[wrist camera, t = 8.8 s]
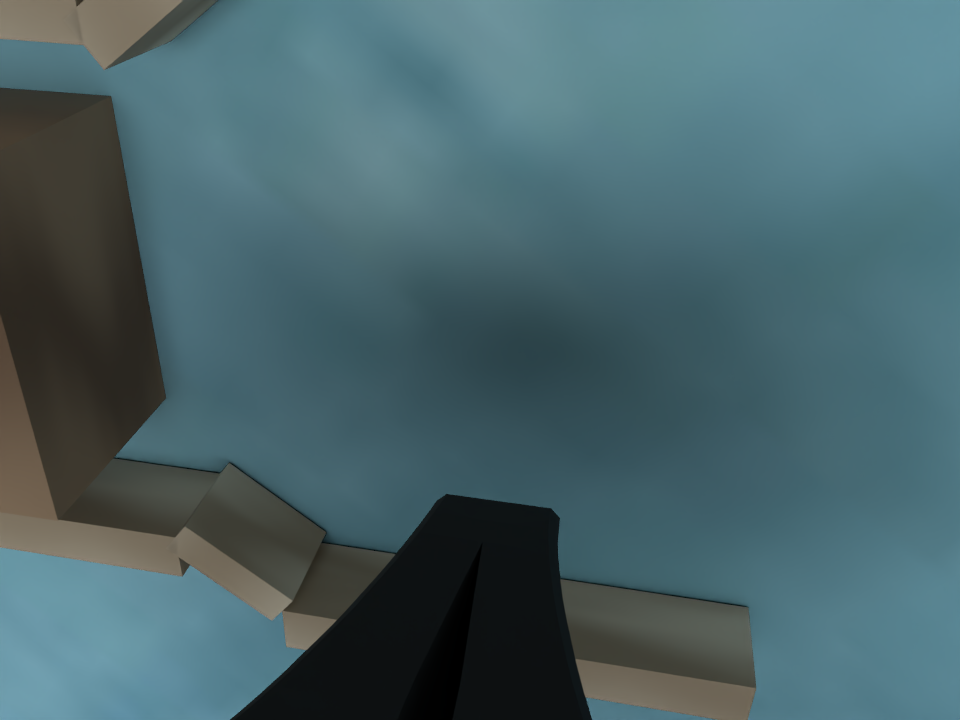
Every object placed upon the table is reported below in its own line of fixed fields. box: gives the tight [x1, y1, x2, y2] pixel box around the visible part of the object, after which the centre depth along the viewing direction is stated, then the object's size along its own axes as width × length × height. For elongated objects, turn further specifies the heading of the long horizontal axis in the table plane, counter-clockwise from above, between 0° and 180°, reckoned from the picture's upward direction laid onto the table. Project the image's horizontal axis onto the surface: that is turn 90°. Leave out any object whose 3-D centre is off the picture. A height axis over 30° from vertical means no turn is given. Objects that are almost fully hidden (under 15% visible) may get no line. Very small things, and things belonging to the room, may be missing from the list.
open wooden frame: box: [0, 0, 756, 720], centre depth 16 cm, size 14×20×2 cm
